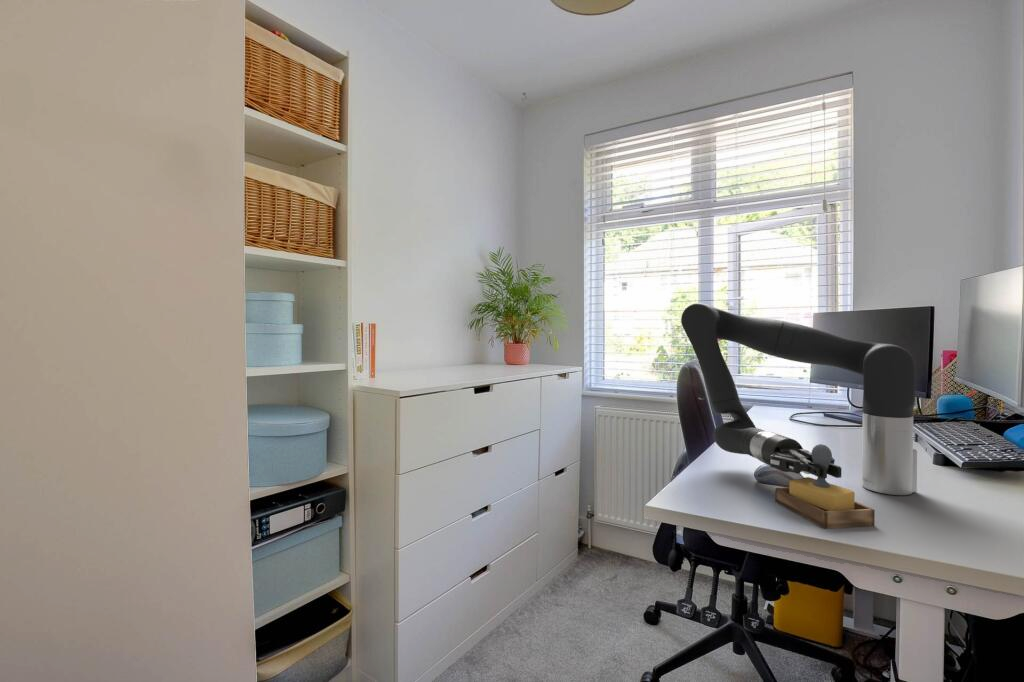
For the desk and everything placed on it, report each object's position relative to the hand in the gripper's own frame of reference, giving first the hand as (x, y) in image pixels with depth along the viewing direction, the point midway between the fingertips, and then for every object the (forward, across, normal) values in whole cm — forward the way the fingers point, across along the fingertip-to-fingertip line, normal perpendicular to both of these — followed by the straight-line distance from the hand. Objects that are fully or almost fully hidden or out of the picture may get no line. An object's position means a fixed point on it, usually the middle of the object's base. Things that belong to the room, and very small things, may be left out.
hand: (832, 473), depth 96 cm
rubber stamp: (-3, 0, +7) cm, 8 cm away
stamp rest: (-3, 0, +9) cm, 9 cm away
